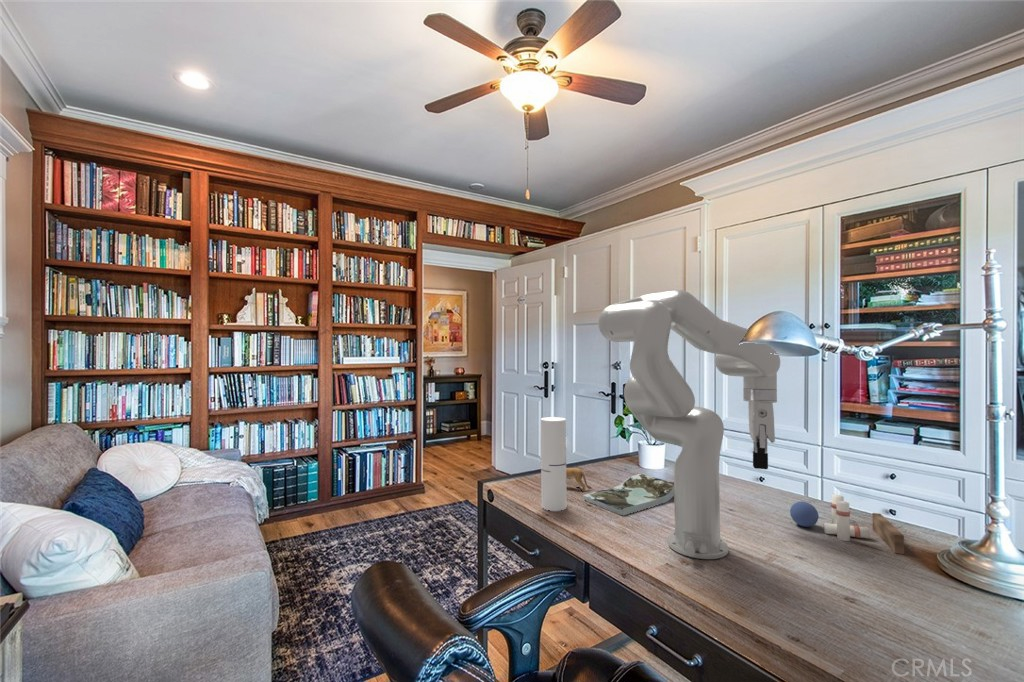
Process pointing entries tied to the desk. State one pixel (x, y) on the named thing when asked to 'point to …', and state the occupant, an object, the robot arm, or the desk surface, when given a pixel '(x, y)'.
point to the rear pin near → (843, 521)
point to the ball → (804, 514)
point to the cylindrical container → (553, 463)
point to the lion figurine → (576, 476)
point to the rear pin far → (835, 506)
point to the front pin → (854, 530)
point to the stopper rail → (888, 533)
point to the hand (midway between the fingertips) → (760, 467)
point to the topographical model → (633, 494)
